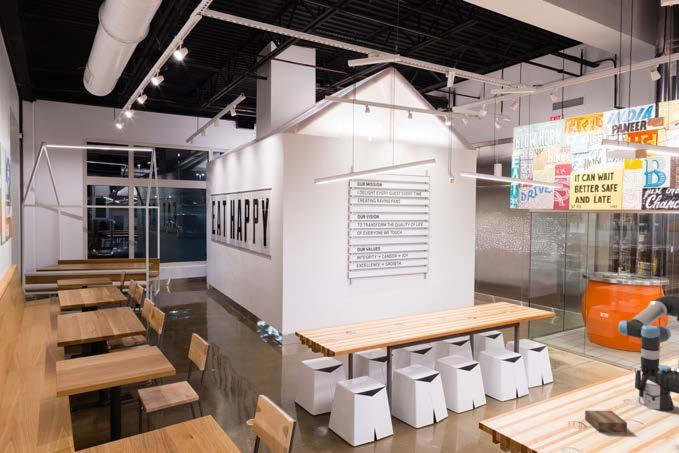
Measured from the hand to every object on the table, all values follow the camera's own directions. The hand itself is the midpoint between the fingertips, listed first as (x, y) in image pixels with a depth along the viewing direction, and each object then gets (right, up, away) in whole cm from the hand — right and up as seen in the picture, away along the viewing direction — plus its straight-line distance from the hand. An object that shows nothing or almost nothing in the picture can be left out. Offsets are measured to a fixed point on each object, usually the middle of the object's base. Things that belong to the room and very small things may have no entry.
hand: (649, 403), depth 229 cm
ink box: (0, -2, 0) cm, 2 cm away
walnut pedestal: (-15, -16, +12) cm, 25 cm away
